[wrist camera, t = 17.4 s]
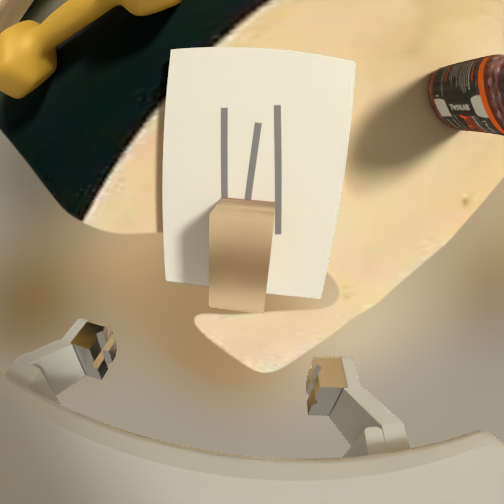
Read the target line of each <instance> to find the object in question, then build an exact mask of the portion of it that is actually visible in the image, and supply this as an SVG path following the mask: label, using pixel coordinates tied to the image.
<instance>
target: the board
mask: <svg viewBox="0 0 504 504" xmlns="http://www.w3.org/2000/svg"><path fill="white" fill-rule="evenodd" d="M355 65H356V62H355V61H350V60H345V59H341V58H336V57H330V56H325V55H318V54H312V53H305V52H297V51H289V50H279V49H266V48H248V47H203V48H185V49H173V50H171V55H170V63H169V72H168V82H167V93H166V105H165V121H164V140H163V181H162V200H163V239H164V240H163V241H164V262H165V277H166V281H171V282H178V283H186V284H194V285H200V286H208V287H209V217H210V213H211V211H212V210H213V209H214V207H215V206H216V205H217V204H218V202H219V201H220V200H221V199H222V197H225V198H237V199H249V200H259V201H270V202H275V212H274V227H273V236H272V245H271V254H270V263H269V271H268V280H267V289H266V293H268V294H277V295H286V296H297V297H307V298H318V299H320V298H321V295H322V291H323V286H324V281H325V277H326V273H327V268H328V263H329V259H330V254H331V249H332V244H333V239H334V234H335V228H336V223H337V217H338V212H339V206H340V200H341V194H342V187H343V181H344V174H345V167H346V160H347V152H348V144H349V136H350V127H351V117H352V106H353V95H354V81H355Z"/></svg>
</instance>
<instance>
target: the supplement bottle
mask: <svg viewBox="0 0 504 504" xmlns="http://www.w3.org/2000/svg"><path fill="white" fill-rule="evenodd" d="M429 96H430V100H431V103H432V106H433V108H434V110H435V112H436V113H437V115H438V117H439V118H440V119H441V120H442V121H443V122H444V123H445V124H447V125H448V126H450V127H452V128H455V129H459V130H465V131H475V132H485V133H492V134H498V135H504V55H500V54H499V55H491V56H485V57H481V58H477V59H472V60H468V61H464V62H460V63H456V64H452V65H449V66H446V67H443V68H440V69H438V70H436V71H435V72H434V74H433V75H432V77H431V79H430V83H429Z"/></svg>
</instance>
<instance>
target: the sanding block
mask: <svg viewBox="0 0 504 504" xmlns="http://www.w3.org/2000/svg"><path fill="white" fill-rule="evenodd" d="M274 212H275V202H270V201H259V200H249V199H237V198H225V197H222V199H221V200H220V201H219V202H218V204H217V205H216V206H215V207H214V209H213V210H212V211H211V213H210V217H209V307H213V308H221V309H229V310H237V311H246V312H255V313H264V305H265V297H266V289H267V280H268V271H269V263H270V254H271V245H272V236H273V227H274Z"/></svg>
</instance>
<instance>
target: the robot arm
mask: <svg viewBox="0 0 504 504" xmlns="http://www.w3.org/2000/svg"><path fill="white" fill-rule="evenodd" d="M112 334H113V332H112V329H111V327H110V326H108V325H105V324H101V323H98V322H94V321H91V320H86V319H83V318H79V319H78V320H77V321H76V322H75V323H74V325H73V326H72V327H71V328H70V329H69V330H68V332H67V333H66V334H65V336H64V337H63V338H62V339H61V340H59V339H58V340H56V341H53V342H51V343H48V344H47V345H44V346H42V347H39V348H37V349H35V350H32V351H30V352H28V353H26V354H23V355H21V356H19V357H18V358H17V359H16V360H15V361H14V363H13V364H12V365H11V366H10V368H9V369H8V370H7V371H6V373H5V374H3V373H1V372H0V504H504V444H503V443H502V442H501V441H499V440H498V439H497V438H495V437H494V436H493V435H491V434H490V433H488V432H486V431H485V430H478V431H474V432H471V433H468V434H465V435H462V436H459V437H456V438H452V439H449V440H445V441H441V442H438V443H433V444H429V445H425V446H420V447H416V448H412V449H410V447H409V443H408V439H407V435H406V432H405V428H404V425H403V422H401V421H400V420H399V419H398V418H397V417H396V416H395V415H394V414H393V413H391V412H390V411H389V410H388V409H387V408H386V407H385V406H384V405H383V404H382V403H380V402H379V401H378V400H377V399H376V398H375V397H374V396H373V395H372V394H371V393H370V392H368V391H367V390H366V389H365V388H361V386H360V382H359V378H358V374H357V370H356V366H355V363H354V359H353V358H352V357H342V356H340V357H338V356H314V357H313V359H312V368H311V369H310V370H309V372H308V375H307V382H306V392H307V394H308V395H309V398H308V400H307V406H308V407H307V408H308V415H321V416H329V417H330V419H331V420H332V421H333V423H334V424H335V425H336V427H337V428H338V429H339V431H340V432H341V433H342V434H343V436H344V437H345V438H346V440H347V441H348V442H349V444H350V445H351V446H352V447H351V448H350V449H349V450H348V451H347V453H346V454H345V455H344V456H343V457H342V458H323V459H287V458H265V457H253V456H243V455H234V454H227V453H219V452H213V451H207V450H201V449H196V448H191V447H186V446H181V445H176V444H172V443H167V442H164V441H160V440H156V439H152V438H148V437H145V436H141V435H138V434H135V433H131V432H128V431H125V430H122V429H119V428H116V427H113V426H110V425H107V424H105V423H102V422H99V421H97V420H94V419H91V418H89V417H87V416H84V415H82V414H79V413H77V412H75V411H72V410H70V409H68V408H66V407H64V406H61V404H60V402H59V400H58V399H57V397H56V395H58V394H59V393H61V392H62V391H64V390H65V389H67V388H68V387H69V386H71V385H72V384H74V383H76V382H77V381H79V380H80V379H81V378H83V377H85V376H86V375H88V376H91V377H94V378H97V379H100V380H102V379H103V377H104V375H105V373H106V372H107V370H108V366H107V364H109V363H111V362H112V361H113V360H114V358H115V355H116V342H115V340H114V339H113V338H112V337H111V335H112Z"/></svg>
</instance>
